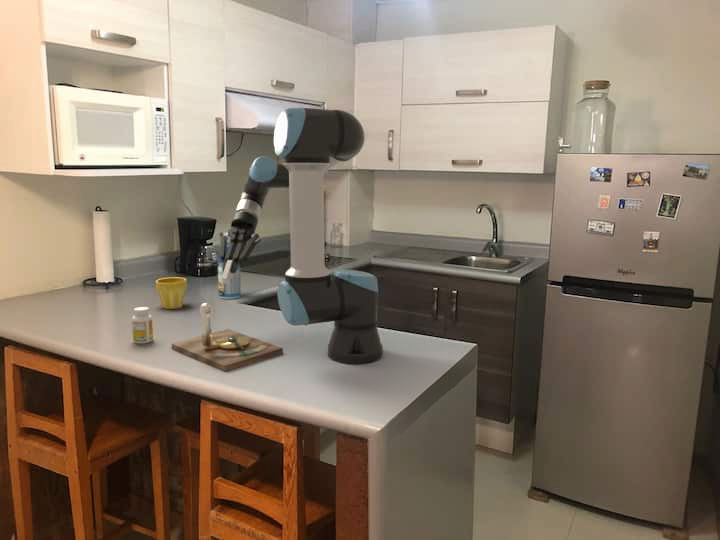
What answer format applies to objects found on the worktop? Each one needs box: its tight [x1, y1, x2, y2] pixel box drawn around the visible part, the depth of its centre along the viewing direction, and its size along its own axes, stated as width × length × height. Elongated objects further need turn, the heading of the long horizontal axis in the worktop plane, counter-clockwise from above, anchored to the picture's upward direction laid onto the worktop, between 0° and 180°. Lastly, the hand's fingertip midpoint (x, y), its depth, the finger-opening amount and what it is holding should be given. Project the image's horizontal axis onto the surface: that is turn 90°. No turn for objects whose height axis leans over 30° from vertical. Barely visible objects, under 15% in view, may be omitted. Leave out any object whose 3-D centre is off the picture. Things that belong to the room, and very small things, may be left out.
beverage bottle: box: [217, 243, 242, 300], centre depth 219 cm, size 8×8×20 cm
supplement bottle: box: [131, 306, 154, 344], centre depth 167 cm, size 5×5×10 cm
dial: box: [199, 302, 249, 351], centre depth 158 cm, size 13×13×13 cm
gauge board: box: [171, 328, 284, 372], centre depth 161 cm, size 25×19×2 cm
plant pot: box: [155, 276, 188, 310], centre depth 205 cm, size 10×10×10 cm
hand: (225, 281), depth 168 cm, fingers closed
